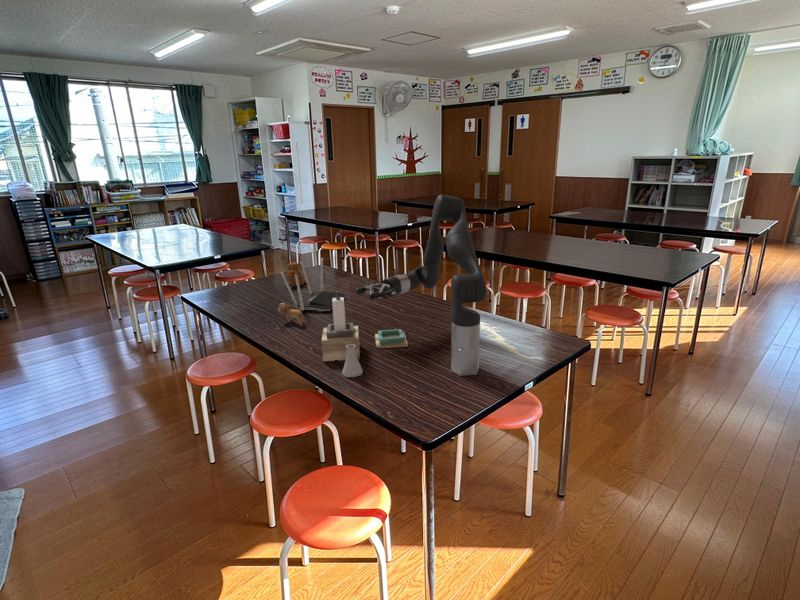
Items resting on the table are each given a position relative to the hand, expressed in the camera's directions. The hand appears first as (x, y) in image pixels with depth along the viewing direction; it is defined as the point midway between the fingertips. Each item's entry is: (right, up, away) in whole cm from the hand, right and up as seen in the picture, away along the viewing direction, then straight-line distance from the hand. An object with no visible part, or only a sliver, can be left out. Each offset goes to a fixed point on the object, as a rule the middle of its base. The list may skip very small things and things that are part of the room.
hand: (363, 294), depth 168 cm
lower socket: (+10, -18, +8) cm, 23 cm away
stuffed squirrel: (-46, +6, +89) cm, 100 cm away
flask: (-2, -27, -16) cm, 32 cm away
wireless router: (-28, -5, +55) cm, 62 cm away
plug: (-8, -14, -3) cm, 17 cm away
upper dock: (-8, -22, -1) cm, 23 cm away
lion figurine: (-33, -13, +30) cm, 47 cm away
